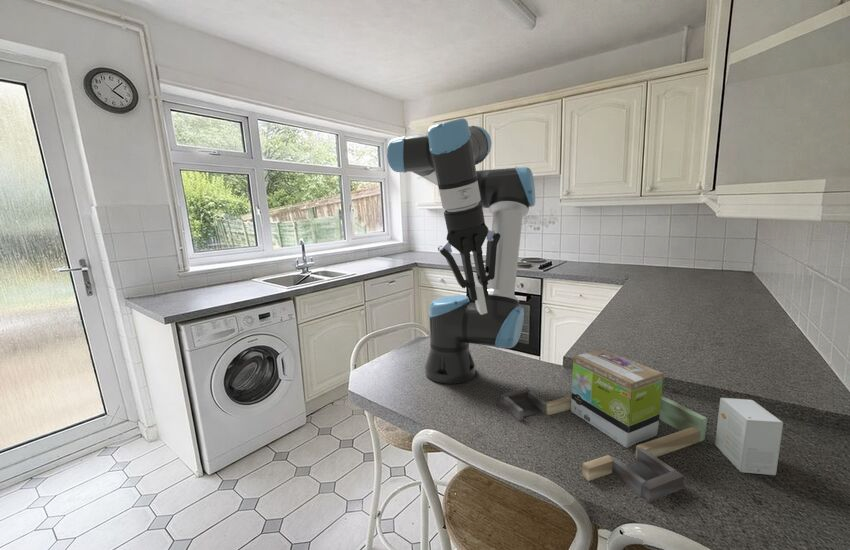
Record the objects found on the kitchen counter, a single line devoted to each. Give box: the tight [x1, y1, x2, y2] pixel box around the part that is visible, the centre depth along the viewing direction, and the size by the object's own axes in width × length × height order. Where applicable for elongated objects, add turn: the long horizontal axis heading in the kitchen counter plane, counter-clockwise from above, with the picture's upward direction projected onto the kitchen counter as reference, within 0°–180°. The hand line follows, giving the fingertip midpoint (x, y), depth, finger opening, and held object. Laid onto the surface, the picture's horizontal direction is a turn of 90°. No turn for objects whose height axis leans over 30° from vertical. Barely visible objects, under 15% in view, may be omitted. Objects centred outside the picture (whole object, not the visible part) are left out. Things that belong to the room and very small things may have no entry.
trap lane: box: [500, 388, 708, 503], centre depth 77 cm, size 36×31×5 cm
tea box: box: [570, 347, 664, 449], centre depth 78 cm, size 15×10×15 cm
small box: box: [714, 397, 784, 476], centre depth 66 cm, size 8×6×10 cm
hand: (482, 311), depth 77 cm, fingers closed
